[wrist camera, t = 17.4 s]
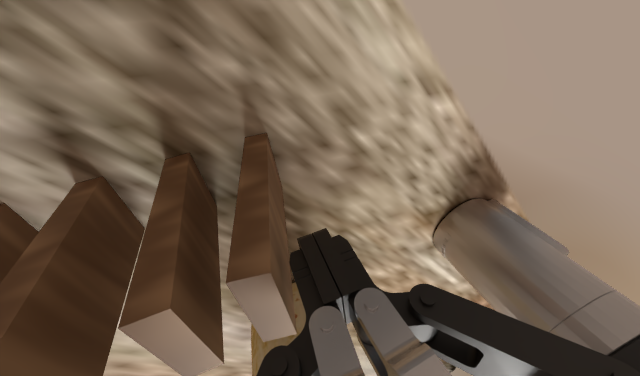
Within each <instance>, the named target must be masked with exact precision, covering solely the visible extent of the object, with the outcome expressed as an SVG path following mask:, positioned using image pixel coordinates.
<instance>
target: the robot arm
mask: <svg viewBox="0 0 640 376" xmlns="http://www.w3.org/2000/svg"><path fill="white" fill-rule="evenodd" d="M297 240H298V244H299V247H300V250H297V251H295V252H292V253H291V255H290V262H289V263H290V266H291V270H292V273H293V276H294V279H295V282H296V285H297V288H298V291H299V294H300V297H301V300H302V303H303V306H304V309H305V313H306V322H305V326H304V328H303V330H302V332H301V333H300V334H299V335H298V336H297V337H296V338H295V339H294V340H293V341H292V342H291V343H290V344H289V345H288V346H285V345H281V346H277V347H275V348H273V349H271V350H270V351H269V352H268V353H267V354H266V356H265V357H264V359H263V361H262V363H261V365H260V368H259V370H258V373H257V375H256V376H365V375H364V373H363V370H362V368H361V365H360V362H359V359H358V356H357V354H356V351H355V348H354V345H353V343H352V340H351V337H350V334H349V331H348V329H347V325H346V324H348V323H350V322H352V323H353V325H354V328H355V330H356V332H357V338H358V341H359V342H360V344H361V346H362V348H363V350H364V352H365V354H366V355H367V357H368V359H369V361H370V363H371V365H372V366H373V368H374V370H375V372H376V374H377V376H452V375H451V374H450V372H449V371H448V370H447V368H446V367H445V366H444V364H443V363H442V362H441V360H440V359H442V360H444V361H446V362H448V363H450V364H452V365H454V366H456V367H458V368H460V369H462V370H463V371H465V372H467V373H469V374H471V375H473V376H640V306H638V305H637V304H636V303H634V302H633V301H631V300H630V299H629V298H627V297H626V296H624V295H623V294H621V293H620V292H618V291H617V290H615V289H614V288H612V287H611V286H609V285H608V284H606V283H605V282H603V281H602V280H600V279H599V278H598V277H596V276H595V275H593V274H592V273H591V272H589V271H588V270H586V269H585V268H583V267H582V266H580V265H579V264H577V263H576V262H575V261H573V260H572V259H570V258H569V257H567V255H568V253H569V251H568V249H567V248H566V247H565V246H563V245H562V244H561V243H559V242H558V241H556V240H554V239H553V238H551V237H550V236H548V235H547V234H546V233H544V232H543V231H541V230H539V229H538V228H536V227H535V226H534V225H532V224H531V223H529V222H528V221H526V220H525V219H523V218H522V217H520V216H519V215H517V214H515V213H514V212H512V211H511V210H509V209H508V208H506V207H505V206H503V205H502V204H500V203H499V202H497V201H496V200H494V199H492V200H488V201H487V200H484V199H473V200H470V201H467V202H465V203H463V204H461V205H460V206H458V207H457V208H455V209H454V210H453V211H452V212H450V213H449V214H448V215H447V216H446V217H445V218H444V219H443V221H442V222H441V223H440V225H439V226H438V228H437V230H436V231H435V234H434V237H433V243H434V246H435V247H436V248H437V249H438V250H439V252H440V253H441V254H442V255H443V256H444V257H445V258H446V259H447V260H448V261H449V262H450V263H451V264H452V265H453V266H454V267H455V268H456V270H457V271H458V272H459V273H460V274H461V275H462V276H463V277H464V278H465V279H466V280H467V281H468V282H469V283H470V284H471V285H472V286H473V287H474V288H475V289H476V290H477V292H478V293H479V294H480V295H481V296H482V297H483V298H484V299H485V300H486V301H487V302H488V303H489V304H490V305H491V306H492V307H493V308H494V309H495V310H496V311H495V310H492V309H489V308H487V307H484V306H482V305H479V304H477V303H474V302H472V301H469V300H467V299H464V298H462V297H459V296H457V295H454V294H452V293H449V292H447V291H444V290H442V289H439V288H437V287H434V286H432V285H429V284H418V285H416V286H414V287H413V288H412V289H411V291H410V292H403V293H388V292H385V291H382V290H381V289H379V288H378V287H377V286H376V285H375V284H374V283H373V282H372V280H371V278H370V277H369V275H368V273H367V272H366V270H365V268H364V267H363V265H362V263H361V262H360V260H359V259H358V258H357V255H356V254H355V252H354V251H353V249H352V247H351V245H350V244H349V242H348V241H347V240H346V239H345V238H343V237H342V236H340V235H337V236H335V237H332V238H331V236H330V234H329V232H328V230H327V229H326V228H325V229H322V230H320V231H317V232H314V233H312V234H309V235H306V236H303V237H300V238H298V239H297ZM344 319H345V320H344ZM438 357H439V358H440V359H439V358H438Z"/></svg>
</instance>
